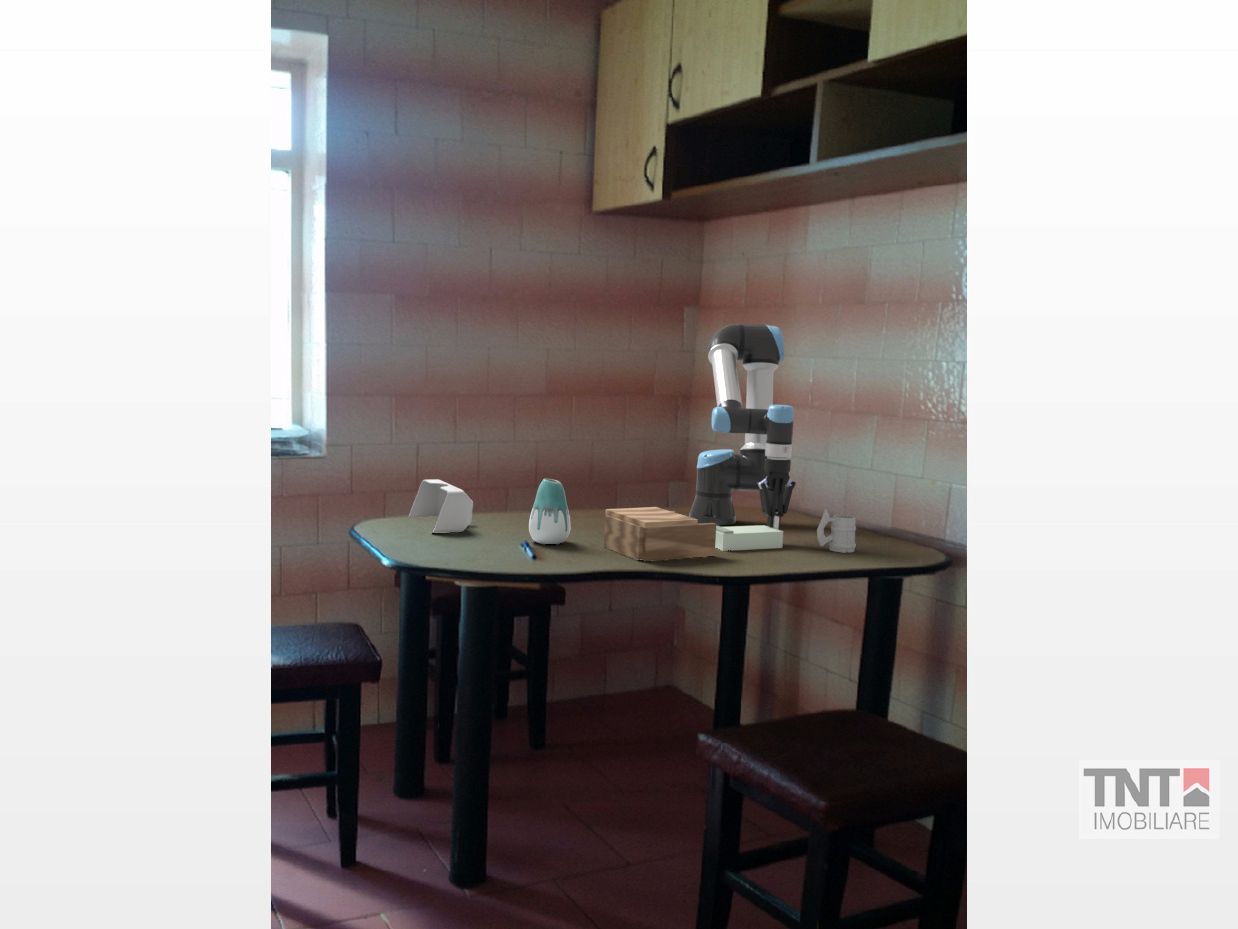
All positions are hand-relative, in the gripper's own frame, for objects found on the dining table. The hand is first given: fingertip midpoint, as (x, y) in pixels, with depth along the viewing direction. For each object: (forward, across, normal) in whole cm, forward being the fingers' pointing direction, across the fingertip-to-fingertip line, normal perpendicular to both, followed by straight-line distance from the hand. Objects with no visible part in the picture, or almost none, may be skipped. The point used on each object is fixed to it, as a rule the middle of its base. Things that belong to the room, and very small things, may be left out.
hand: (772, 537), depth 310 cm
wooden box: (+2, -40, 0) cm, 40 cm away
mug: (+2, +12, -14) cm, 18 cm away
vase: (+2, -63, +21) cm, 66 cm away
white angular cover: (+2, -81, +53) cm, 97 cm away
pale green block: (+2, -11, 0) cm, 11 cm away
